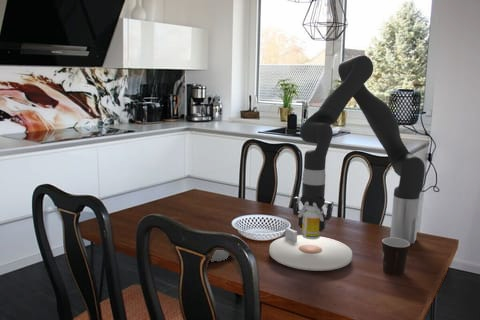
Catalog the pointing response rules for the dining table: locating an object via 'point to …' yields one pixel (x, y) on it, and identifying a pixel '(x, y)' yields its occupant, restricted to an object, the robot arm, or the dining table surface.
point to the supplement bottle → (310, 223)
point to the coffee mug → (394, 255)
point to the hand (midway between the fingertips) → (311, 229)
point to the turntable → (310, 252)
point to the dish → (219, 255)
